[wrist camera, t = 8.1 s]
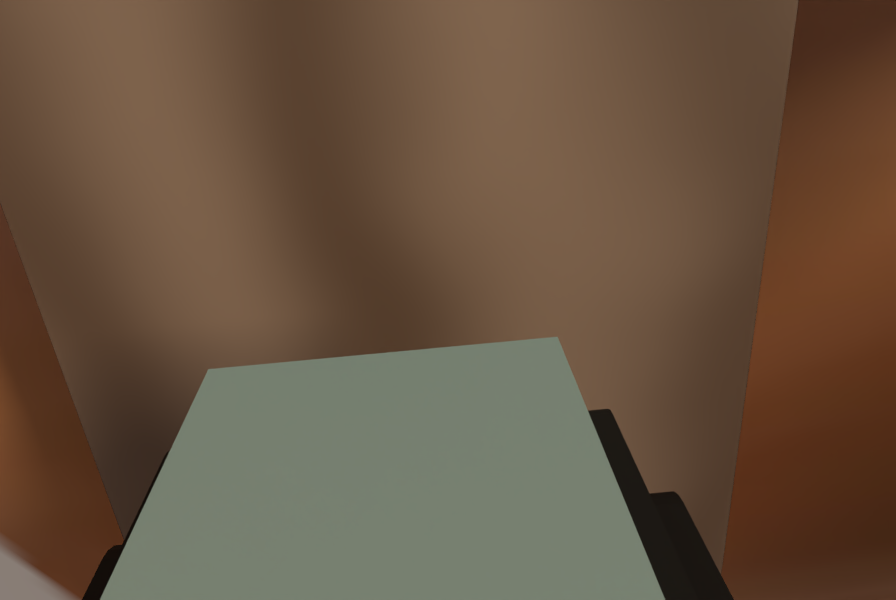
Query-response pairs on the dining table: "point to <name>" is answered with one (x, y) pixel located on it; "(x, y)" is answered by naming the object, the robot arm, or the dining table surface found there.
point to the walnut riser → (398, 201)
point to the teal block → (388, 485)
